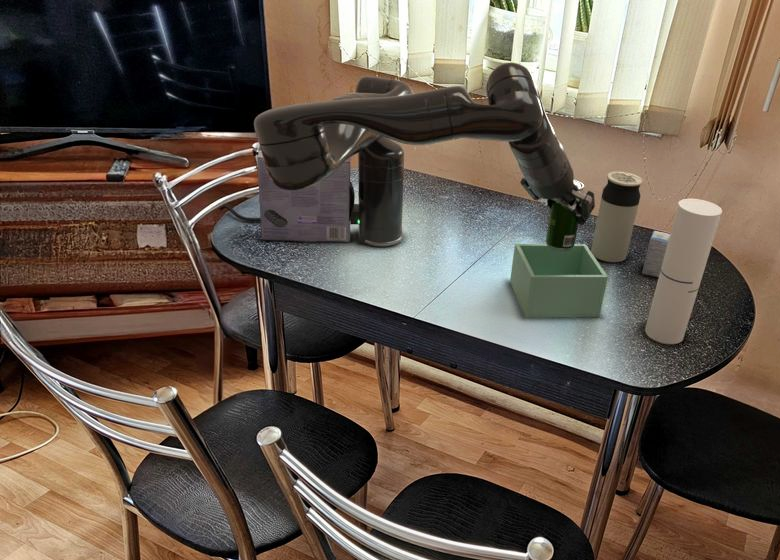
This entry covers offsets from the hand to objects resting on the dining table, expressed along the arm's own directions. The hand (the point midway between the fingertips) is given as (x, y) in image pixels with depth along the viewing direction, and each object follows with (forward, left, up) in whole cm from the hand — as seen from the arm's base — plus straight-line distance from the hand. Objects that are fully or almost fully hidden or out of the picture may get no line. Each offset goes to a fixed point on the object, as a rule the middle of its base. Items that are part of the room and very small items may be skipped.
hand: (569, 215), depth 125 cm
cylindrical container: (+17, -14, -17) cm, 28 cm away
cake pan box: (-48, +26, -17) cm, 57 cm away
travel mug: (+17, +18, -17) cm, 30 cm away
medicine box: (+26, +9, -17) cm, 33 cm away
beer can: (-1, -1, -6) cm, 6 cm away
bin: (-1, -1, -17) cm, 17 cm away
